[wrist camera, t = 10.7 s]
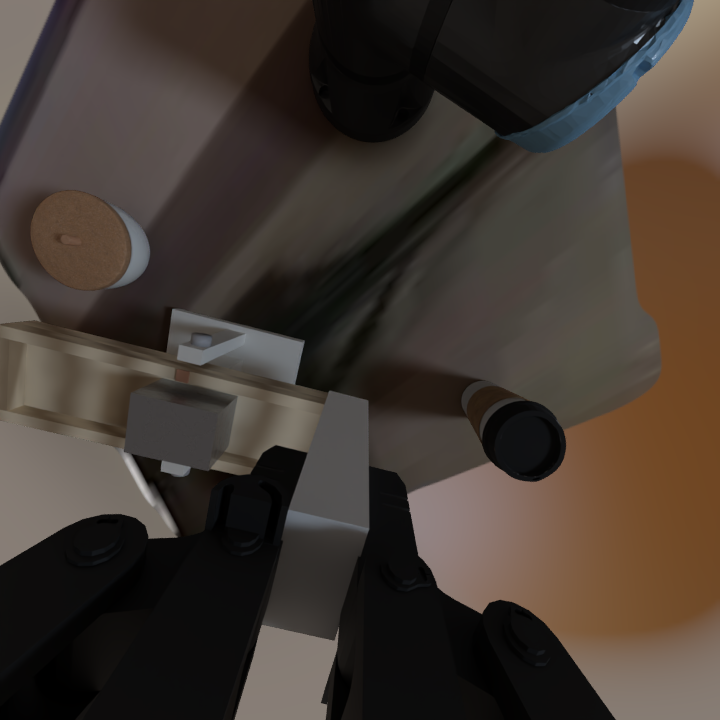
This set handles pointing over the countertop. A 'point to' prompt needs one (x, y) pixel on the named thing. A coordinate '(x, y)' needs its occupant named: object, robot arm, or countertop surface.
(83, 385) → the beam
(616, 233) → the countertop surface
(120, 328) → the countertop surface
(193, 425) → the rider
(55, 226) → the lidded jar
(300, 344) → the stand
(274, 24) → the countertop surface
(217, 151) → the countertop surface
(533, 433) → the coffee cup
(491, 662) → the robot arm
